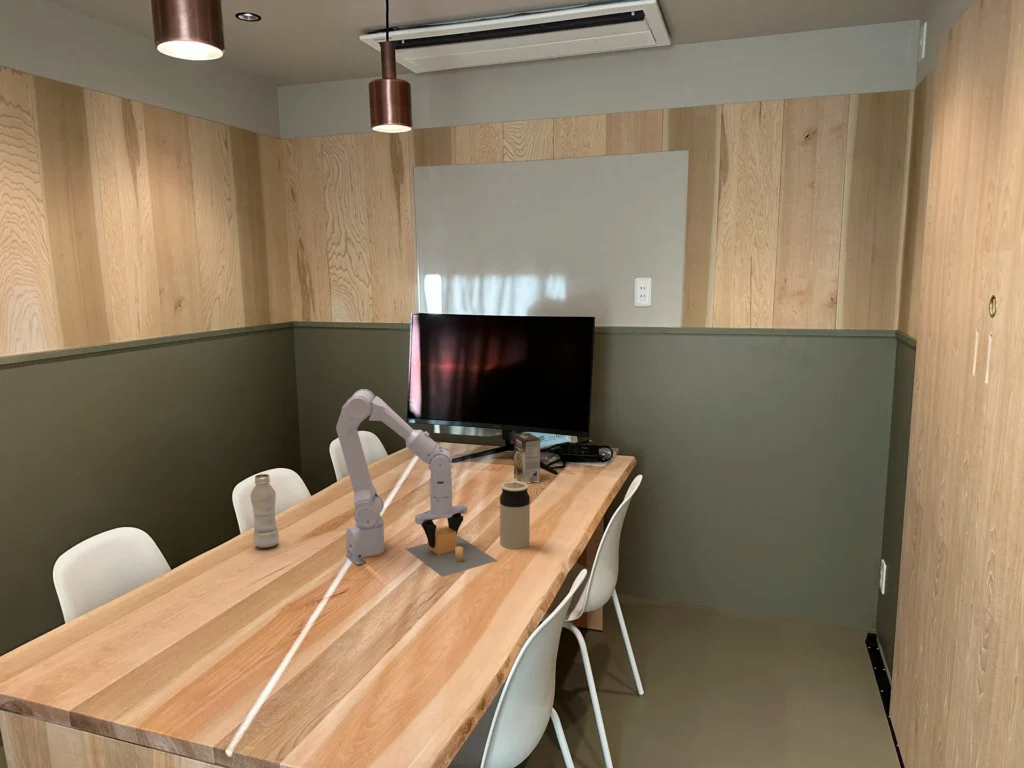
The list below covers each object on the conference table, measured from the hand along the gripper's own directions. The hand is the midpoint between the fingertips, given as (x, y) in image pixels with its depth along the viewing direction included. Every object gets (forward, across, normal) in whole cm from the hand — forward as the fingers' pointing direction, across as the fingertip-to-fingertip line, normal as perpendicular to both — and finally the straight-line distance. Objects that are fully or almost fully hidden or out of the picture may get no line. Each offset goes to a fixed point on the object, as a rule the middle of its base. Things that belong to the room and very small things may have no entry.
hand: (442, 543), depth 184 cm
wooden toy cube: (+1, 0, 0) cm, 1 cm away
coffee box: (+3, +56, +39) cm, 68 cm away
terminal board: (+3, 0, -4) cm, 5 cm away
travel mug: (+3, +18, -8) cm, 20 cm away
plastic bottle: (+3, -37, +32) cm, 49 cm away
